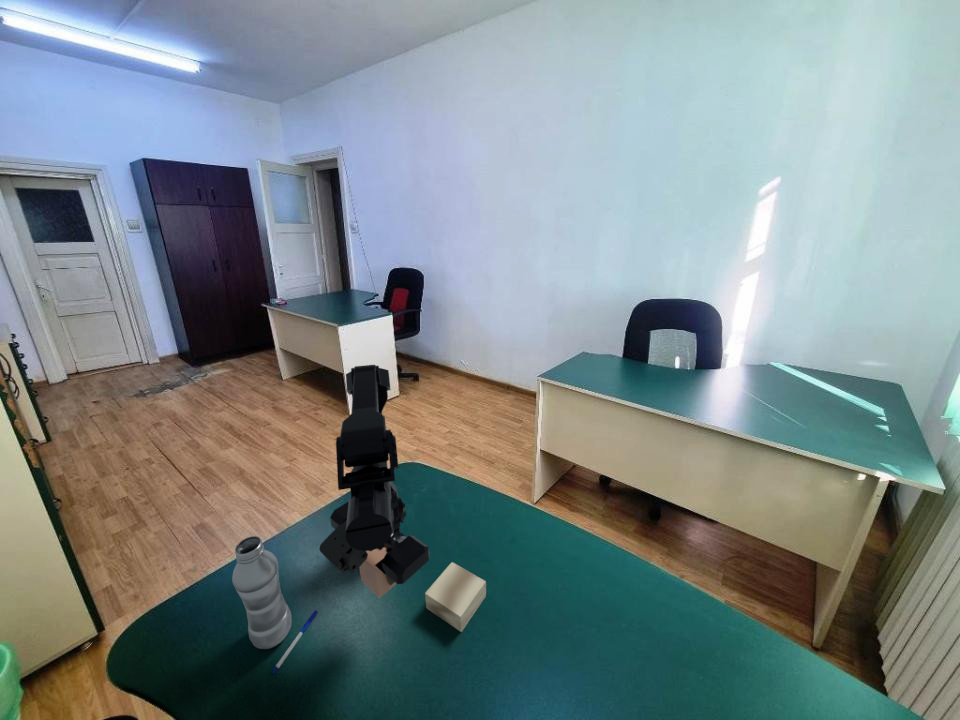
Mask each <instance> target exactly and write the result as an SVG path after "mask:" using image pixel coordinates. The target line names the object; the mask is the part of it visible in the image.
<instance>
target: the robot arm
mask: <svg viewBox="0 0 960 720" xmlns="http://www.w3.org/2000/svg"><path fill="white" fill-rule="evenodd" d="M389 371H390V370H388V369H385V368H381V367H380V366H379V365H376V364H366V365H355V366H354V367H351V369H350V371H349V372H347V373H345V381H346V384H345V385H346V393H347V394H348V395H349V396H351V412H350V413H351V414H350V415H349V416H348V417H346V418H345V419H344V420H343V421H342V423H341V430H340V434H339V435H340V436H336V439H335V448H336V451H335V454H336V471H337V489H338V491H342V490H347V489H350V490H349V491H350V496H349V500H348V501H347V502H346V503H344V504H342V505H340V506H338V507H337V508H335V509H334V510H333V511H332V513H331V515H330V517H329V520H330V526H331V527H332V528H333V530H332V532H331V533H330V534H329V535H328V536H327V537H326V538H325V539H324V540H323V541H322V542H321V544H320V545H319V551H320V553H321V554H322V555H323V556H324V557H325V558H326V559H327V561H328V562H330V564H331V565H333V566H334V568H336V570H338V572H339V573H340V574H341V573H342V574H344V573H345V574H346V573H347V572H348V571H351V573H354V572H357V571H358V570H359V567H360V566H361V565H362V564H363V563H364V561H365V560H366V559H367V556H368V553H367V552H366V551H372V550H375V549H377V550H382V549H383V548H384V547H385V548H386V550H385V551H386V555H385V556H384V558H383V559H382V560H381V561H379V562H378V563H377V564H376V565H375V566H376V567H377V568H378V569H379V570H381V571H382V572H383V573H384V574H386V577H387V580H388V583H389V585H392V584H393V583H394V582H396V585H403V584H405V583H406V582H407V581H408V580H409V579H410V578H411V577H412V576H413V575H415V574H416V573H417V572H418V571H419V570H421V569H422V567H423V566H425V565H426V564H427V563H428V562H429V561H430V547H429V546H428V545H426V544H425V543H424V542H422V541H421V540H419V539H418V538H417V537H416V536H414V535H411V534H410V535H408V536H406V535H405V534H403V533H402V532H401V529H400V527H401V524H403V523H404V520H405V518H406V517H407V511H406V509H407V508H406V503H405V502H404V501H403V499H402V497H400V496H398V488H397V486H396V485H395V484H394V482H396V474H395V470H397V469H399V459H398V449H397V439H396V438H397V437H396V436H395V435H394V434H393V431H392V430H391V429H387V425H386V417H385V415H384V414H383V410H384V408H385V406H386V403H387V402H388V398H389V393H388V391H391V390H392V389H391V381H390V380H391V379H390V373H389ZM388 461H389V466H388ZM388 467H389V468H388ZM345 468H348V469H349V468H352V469H351V471H350V472H346V473H345Z"/></svg>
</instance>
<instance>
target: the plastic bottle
mask: <svg viewBox="0 0 960 720" xmlns="http://www.w3.org/2000/svg"><path fill="white" fill-rule="evenodd" d="M234 554H235V559H236V562H237V563H236V564H235V567H234V569H233V571H232V578H231V579H232V580H231V581H232V584H233V588H234V589H235V590H236V592H237V594H238V596H239V597H240V599H241V601H242V603H243V606H244V608H245V611H246V617H247V622H248V623H247V625H248V626H247V629H248V630H247V632H248V638H249V640H250V643H252V645H253V646H254V647H255V648H256V649H260V650H270V649H272V648H274V647H276V646H278V645H279V644H280V643H282V642H283V641H284V640H285V638H286V636H287V635H288V633H290V630H291V628H292V612H291V610H290V607H289V605H288V604H287V602H286V600H285V598H284V596H283V594H282V593H283V592H282V590H281V584H280V576H279V575H280V574H279V563H278V558H277V557H276V556H275V554H274V553H273V552H271V551H270V550H267V549H265V546H264V543H263V540H262V538H261V537H260V536H257V535H252V536H248V537H245V538H244V539H241V540H240V541H239V542H238V543H237V544H236V546H235V549H234Z"/></svg>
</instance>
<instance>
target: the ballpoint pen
mask: <svg viewBox="0 0 960 720" xmlns="http://www.w3.org/2000/svg"><path fill="white" fill-rule="evenodd" d="M317 614H318V610H316V609H314V611H313V612H312V613H311V615H310V616H309V617H308V619H307V620H306V621H305V623H304V624H303V626H302V627H301V629H300V631H299V633H298V634H297V635H296V636H295V638H294V640H293V641H292V642H291V643H290V646H289V647H288V648H287V649H286V651H285V652H284V654H283V655H282V656H281V657H280V659H279V660H278V662H277V663H276V664H275V666H274V668H273V670H272V671H271V674H273V675H274V674H275V673H277V671H278V670H279V669H280V667H281V666H282V665H283V663H284V662H285V660H286V659H287V657H288V656H289V655H290V653H291V651H293V648H294V647H295V646H296V645H297V643H298V642H299V640H300V639H301V638H302V636H303V634H304V633H305V632H306V631H307V629H308V627H309V626H310V625H311V623H312V622H313V620H314V619H315V618H316V616H317Z"/></svg>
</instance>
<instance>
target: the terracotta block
mask: <svg viewBox="0 0 960 720" xmlns="http://www.w3.org/2000/svg"><path fill="white" fill-rule="evenodd" d="M385 550H386V548H385V547H384V548H383V549H382V550H377V549H375V550H372V551H366V552H367V553H368V556H367V559H366V560H365V561H364V563H363V564H362V565H361V566H360V567H359V568H358V570H359V574H360V581H361V582H362V583H363V584H364V585H365V587H367V588H368V589H369V590H370V592H372V593H374V595H375V596H376V597H377V598H378V599H381V598H383V596H384V595H385V594H387V592H389V591H390V590H391V589H392V588H393V587H394V586H395V585H397V583H396V582H394V583H393V584H392V585H389V583H388V580H387V577H386V574H384V573H383V572H382V571H381V570H379V569H378V568H377V567H376V566H375V565H376V564H377V563H378V562H379V561H381V560H382V559H383V558H384V556H385V555H386V551H385Z"/></svg>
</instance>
